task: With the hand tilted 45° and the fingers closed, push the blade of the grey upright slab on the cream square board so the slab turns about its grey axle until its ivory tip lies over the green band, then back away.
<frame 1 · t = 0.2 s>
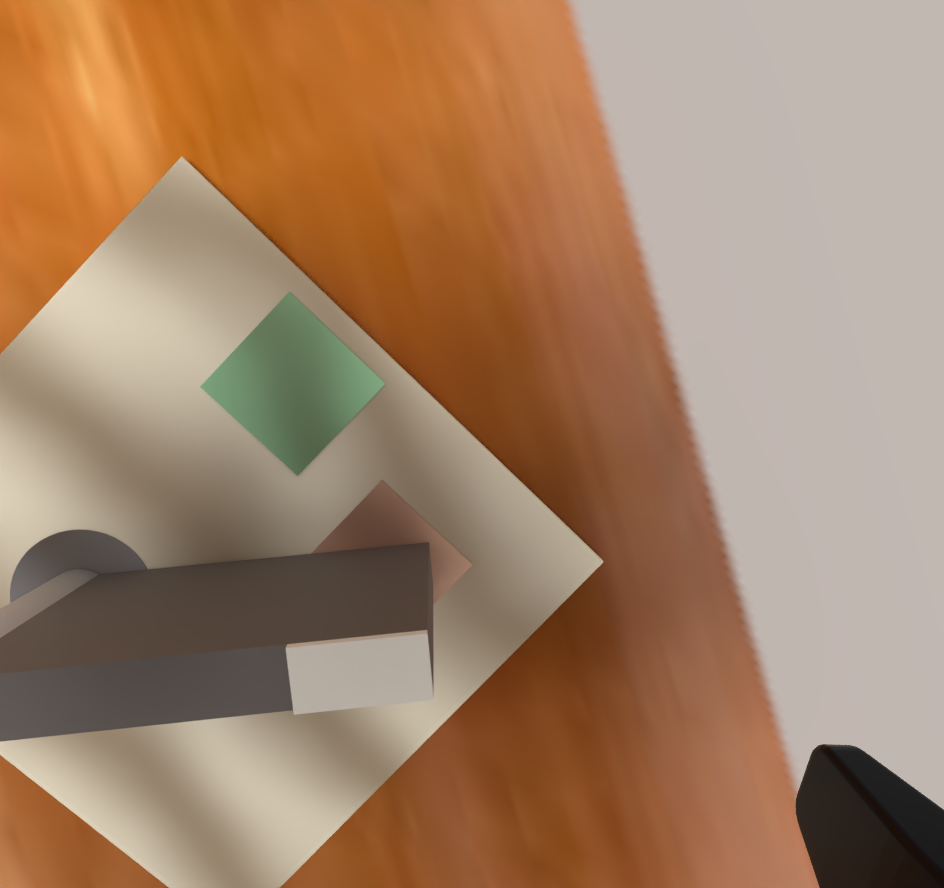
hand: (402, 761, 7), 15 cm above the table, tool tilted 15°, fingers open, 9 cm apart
cream square board: (214, 568, 23), on the table
grey upright slab: (197, 636, 18), point 5 cm above the table, hinge at 0.0°
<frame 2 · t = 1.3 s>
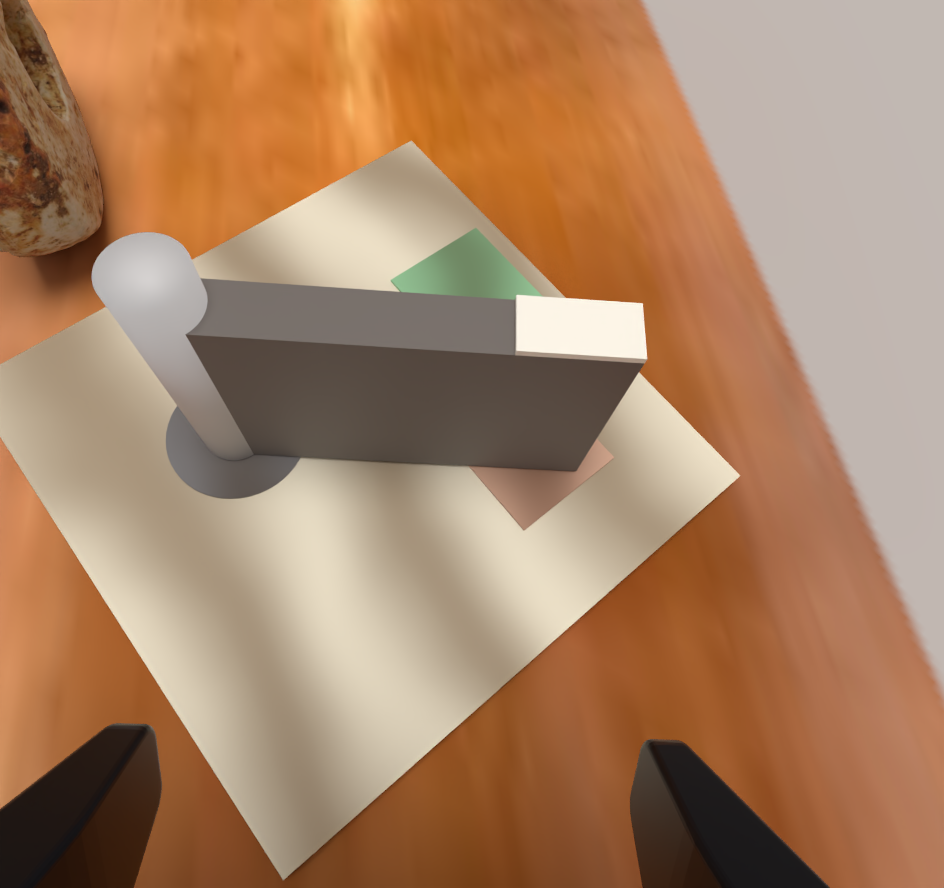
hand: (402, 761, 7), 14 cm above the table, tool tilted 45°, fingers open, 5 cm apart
stone disc: (63, 196, 26), on the table
cream square board: (362, 437, 23), on the table
grey upright slab: (389, 379, 19), point 5 cm above the table, hinge at 0.0°
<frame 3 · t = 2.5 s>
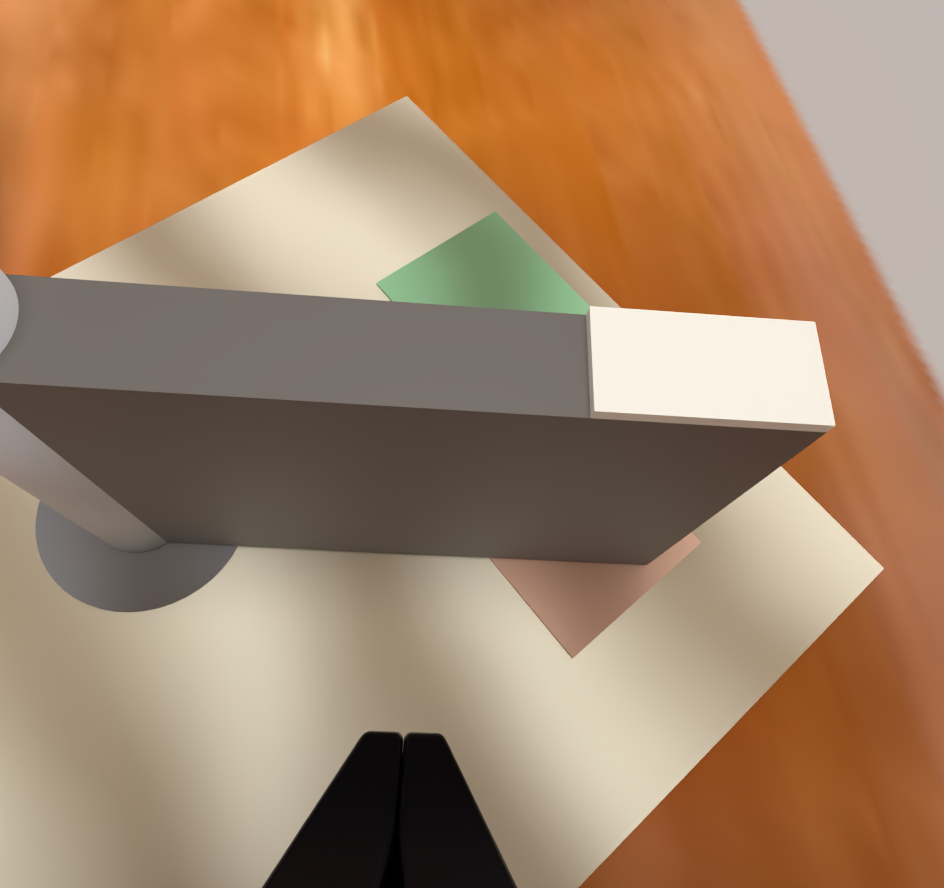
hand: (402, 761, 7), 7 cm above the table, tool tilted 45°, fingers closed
cream square board: (332, 511, 16), on the table
grey upright slab: (364, 443, 11), point 5 cm above the table, hinge at 0.0°
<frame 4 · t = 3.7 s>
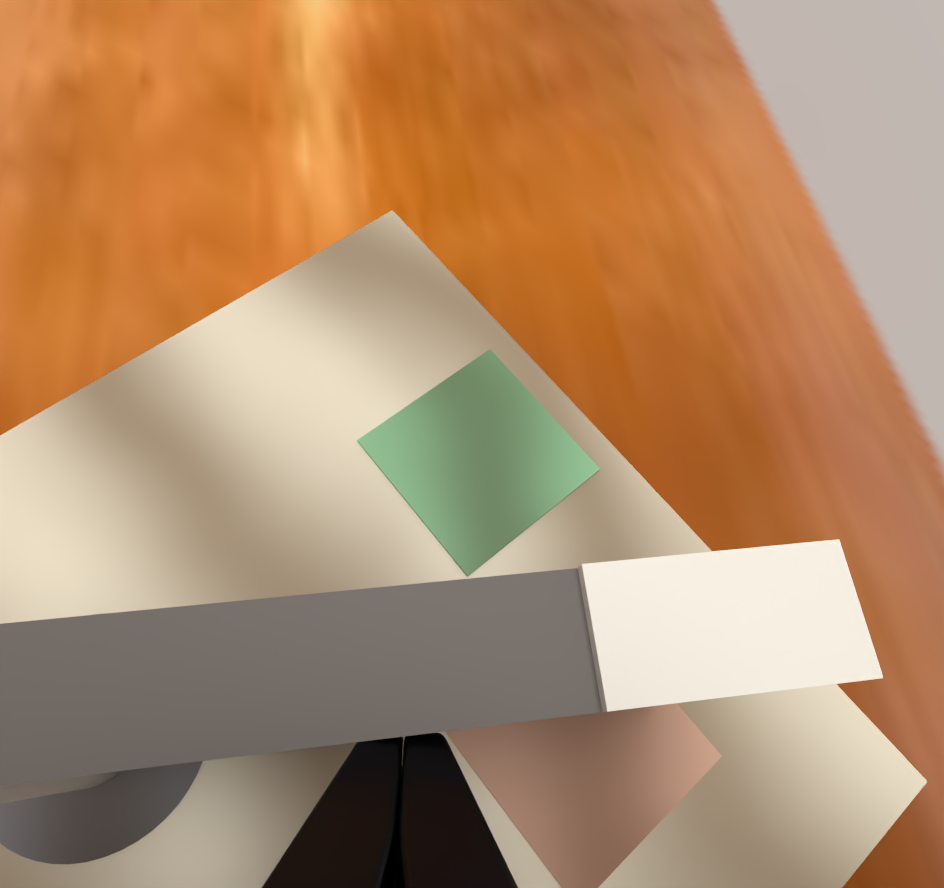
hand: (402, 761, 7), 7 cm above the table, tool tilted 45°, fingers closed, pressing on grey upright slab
cream square board: (306, 717, 14), on the table
grey upright slab: (333, 686, 10), point 5 cm above the table, hinge at 8.0°, touching gripper
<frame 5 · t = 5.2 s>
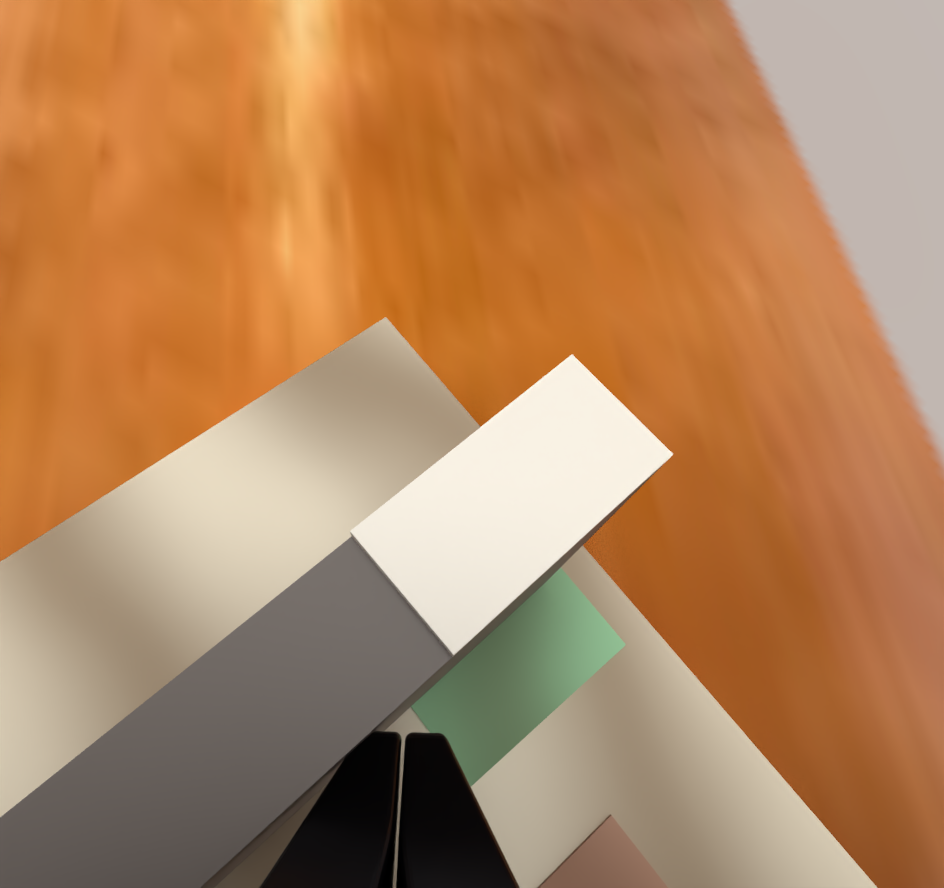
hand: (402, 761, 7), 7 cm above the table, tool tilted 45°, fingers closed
grey upright slab: (214, 796, 8), point 5 cm above the table, hinge at 43.5°, touching gripper
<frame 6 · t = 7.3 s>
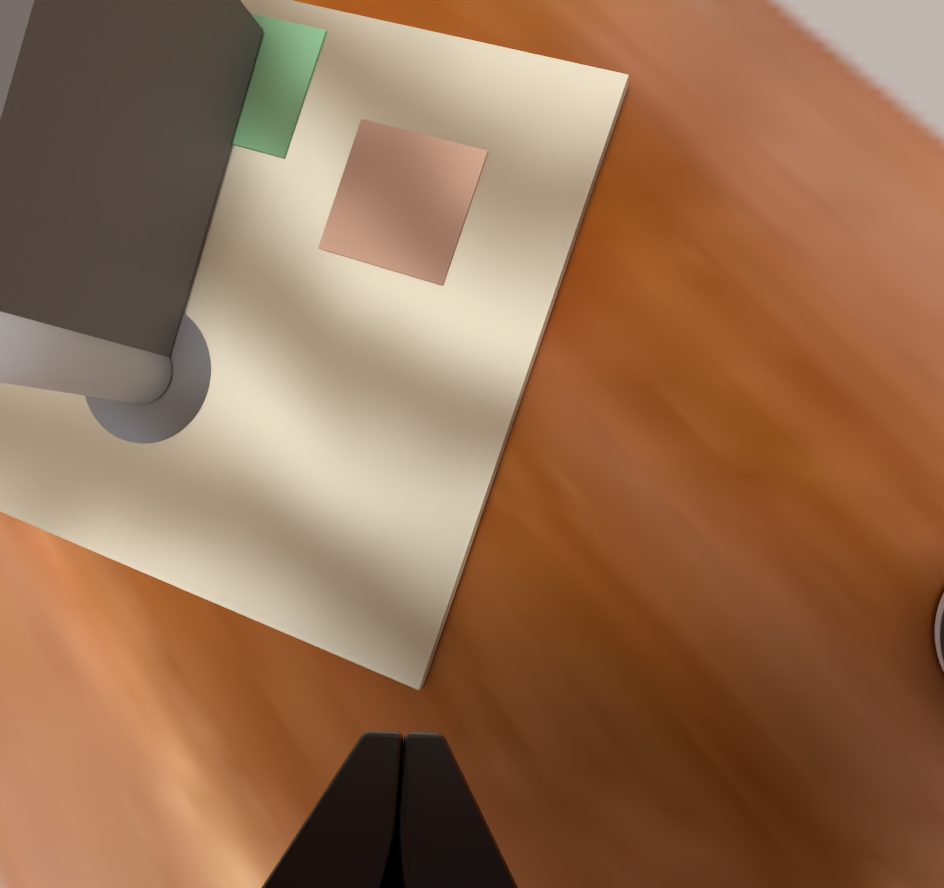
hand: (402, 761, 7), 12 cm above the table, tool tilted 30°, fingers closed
cream square board: (253, 300, 22), on the table
grey upright slab: (86, 152, 17), point 5 cm above the table, hinge at 43.5°
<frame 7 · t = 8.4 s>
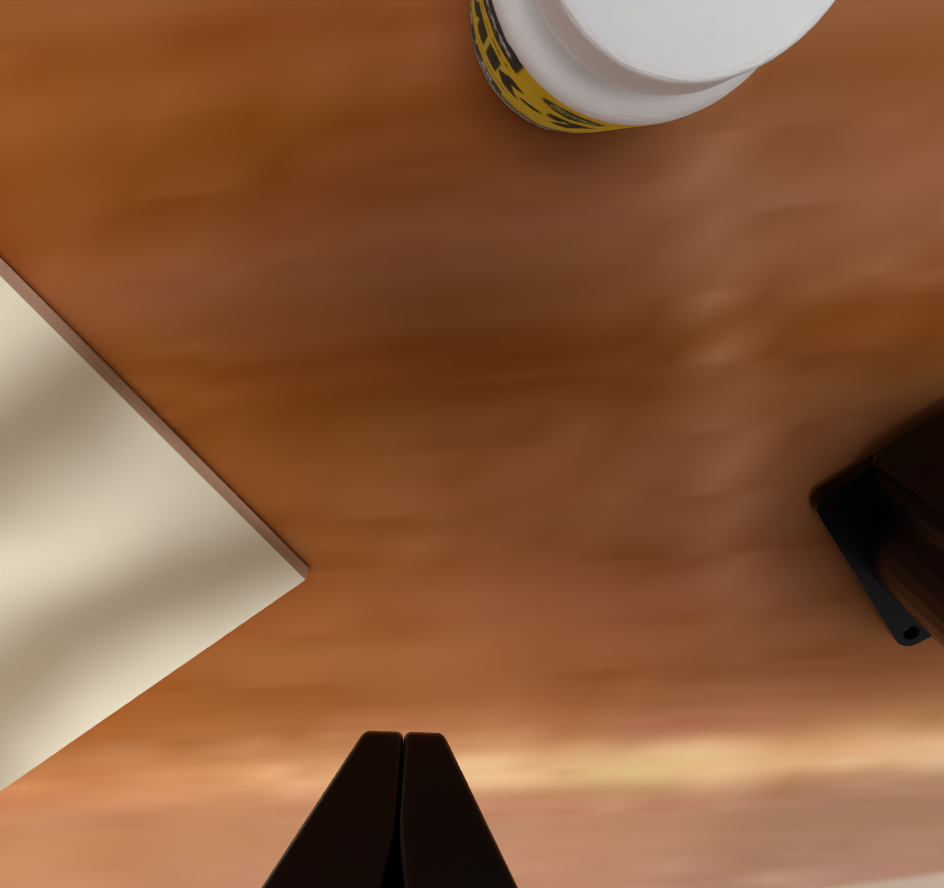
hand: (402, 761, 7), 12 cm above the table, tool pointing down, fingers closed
supplement bottle: (574, 19, 15), on the table
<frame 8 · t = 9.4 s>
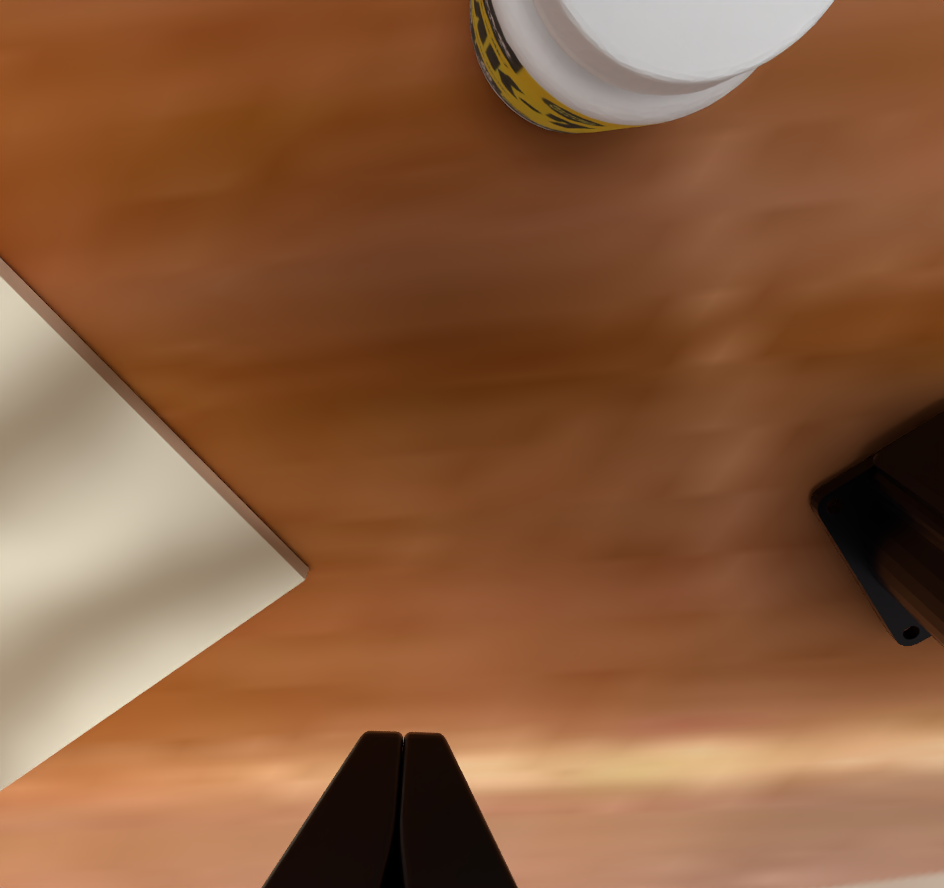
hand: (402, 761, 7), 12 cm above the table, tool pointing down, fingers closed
supplement bottle: (574, 19, 15), on the table
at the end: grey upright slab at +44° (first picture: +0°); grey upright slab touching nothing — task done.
